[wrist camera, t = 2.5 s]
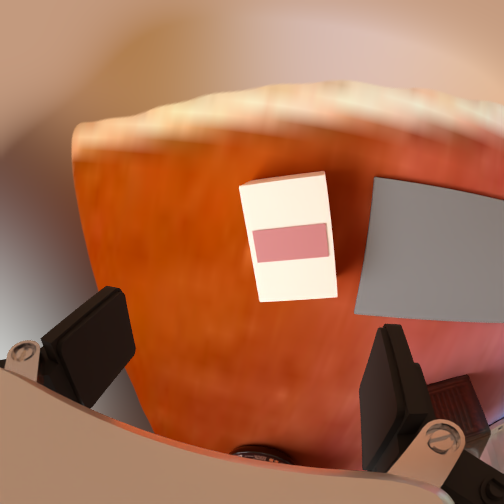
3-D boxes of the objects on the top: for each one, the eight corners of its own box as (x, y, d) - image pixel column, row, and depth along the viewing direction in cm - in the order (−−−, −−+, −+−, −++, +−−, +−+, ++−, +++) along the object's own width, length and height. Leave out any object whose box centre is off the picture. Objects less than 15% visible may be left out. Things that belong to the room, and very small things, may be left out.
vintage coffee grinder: (379, 394, 29) (386, 543, 12) (469, 371, 26) (515, 502, 9) (380, 461, 33) (379, 568, 16) (452, 444, 30) (468, 546, 13)
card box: (324, 170, 23) (325, 175, 19) (336, 275, 26) (337, 297, 22) (251, 180, 25) (238, 186, 21) (268, 280, 27) (259, 302, 24)
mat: (538, 209, 19) (540, 210, 18) (507, 321, 23) (508, 323, 22) (374, 176, 22) (375, 177, 22) (354, 311, 26) (354, 313, 26)
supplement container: (252, 479, 40) (233, 536, 29) (214, 446, 38) (187, 510, 27) (309, 471, 36) (298, 537, 25) (275, 437, 35) (256, 513, 24)
